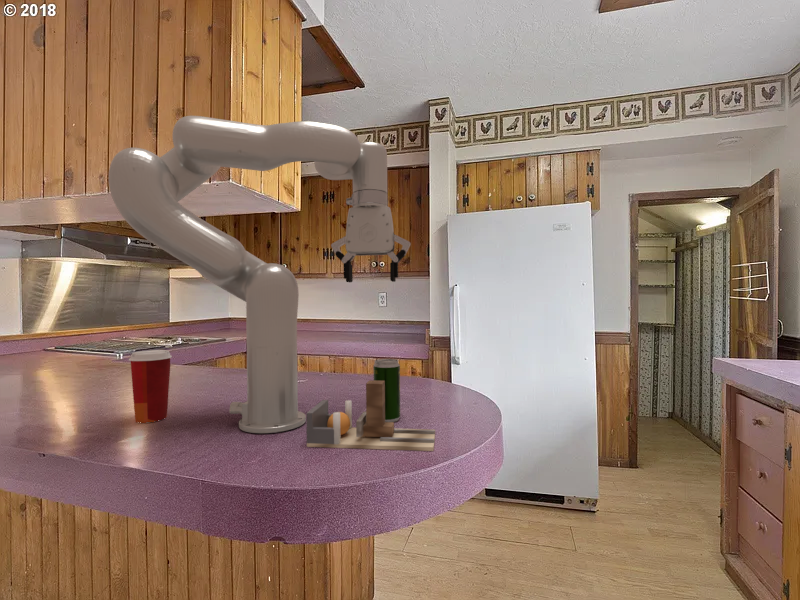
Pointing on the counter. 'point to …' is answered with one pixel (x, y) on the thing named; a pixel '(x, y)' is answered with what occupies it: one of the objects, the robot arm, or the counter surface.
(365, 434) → the kicker
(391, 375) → the beer can
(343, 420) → the ball
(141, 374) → the paper cup
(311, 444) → the board
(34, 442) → the counter surface
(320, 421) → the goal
